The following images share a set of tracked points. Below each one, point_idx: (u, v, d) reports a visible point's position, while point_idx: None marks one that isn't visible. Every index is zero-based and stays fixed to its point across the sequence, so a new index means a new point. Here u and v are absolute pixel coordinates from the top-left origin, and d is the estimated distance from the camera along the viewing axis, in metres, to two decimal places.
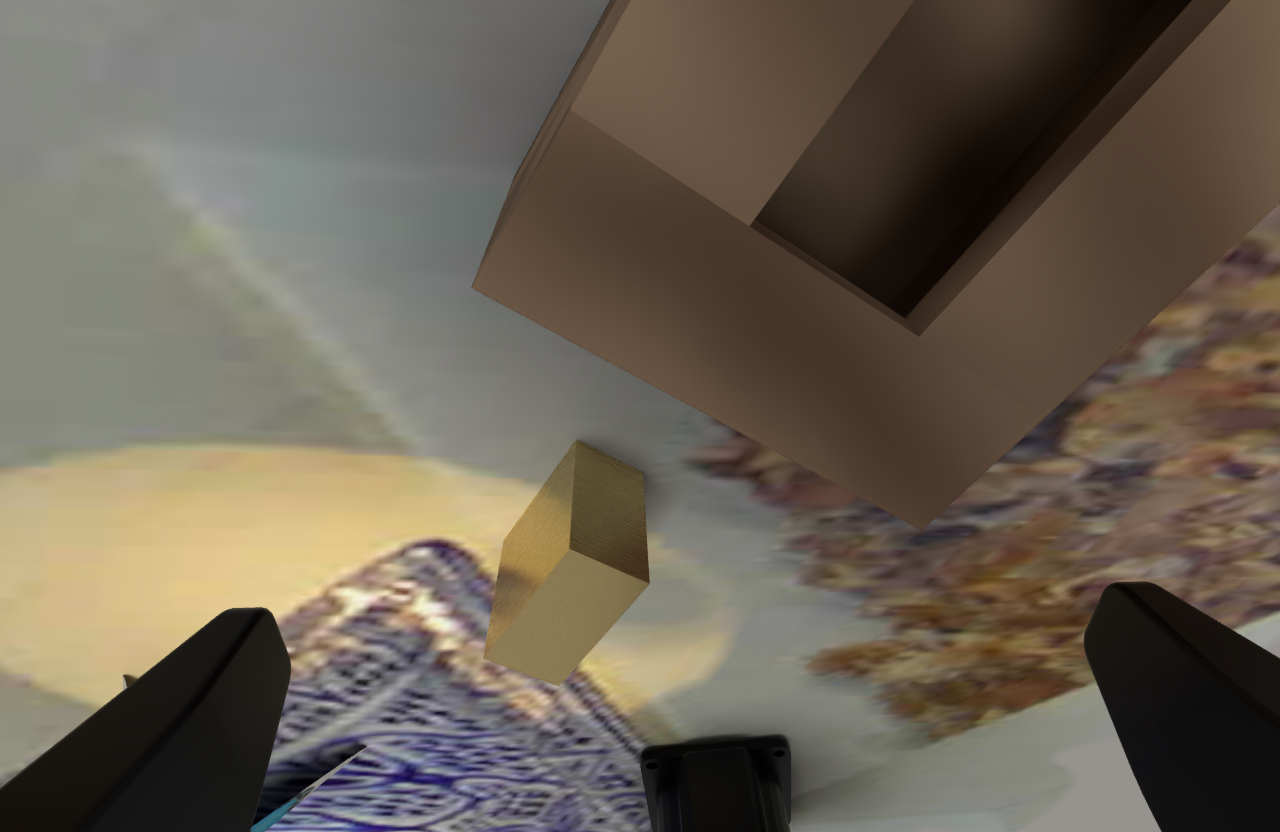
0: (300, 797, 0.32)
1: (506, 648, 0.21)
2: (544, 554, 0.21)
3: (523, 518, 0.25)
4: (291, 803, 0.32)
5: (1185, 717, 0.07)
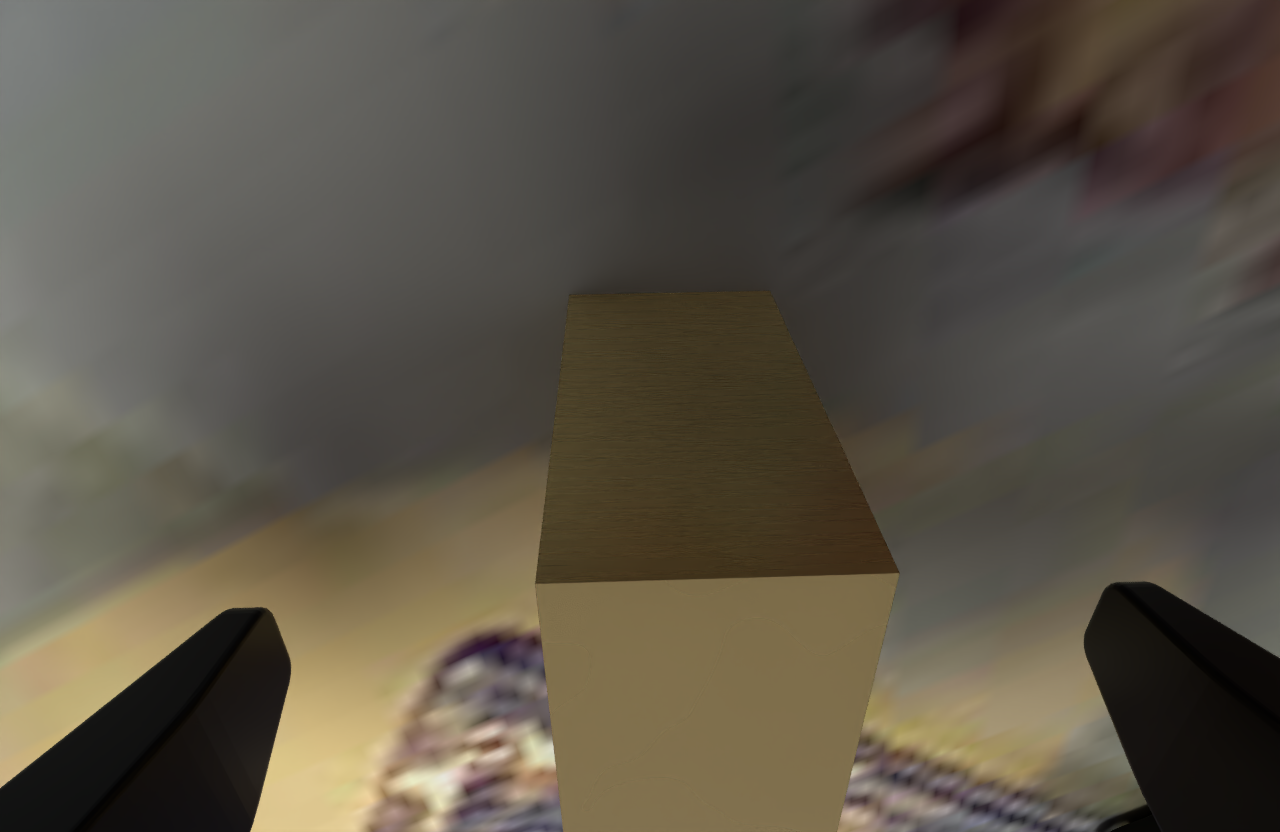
0: None
1: None
2: None
3: None
4: None
5: (1185, 717, 0.07)
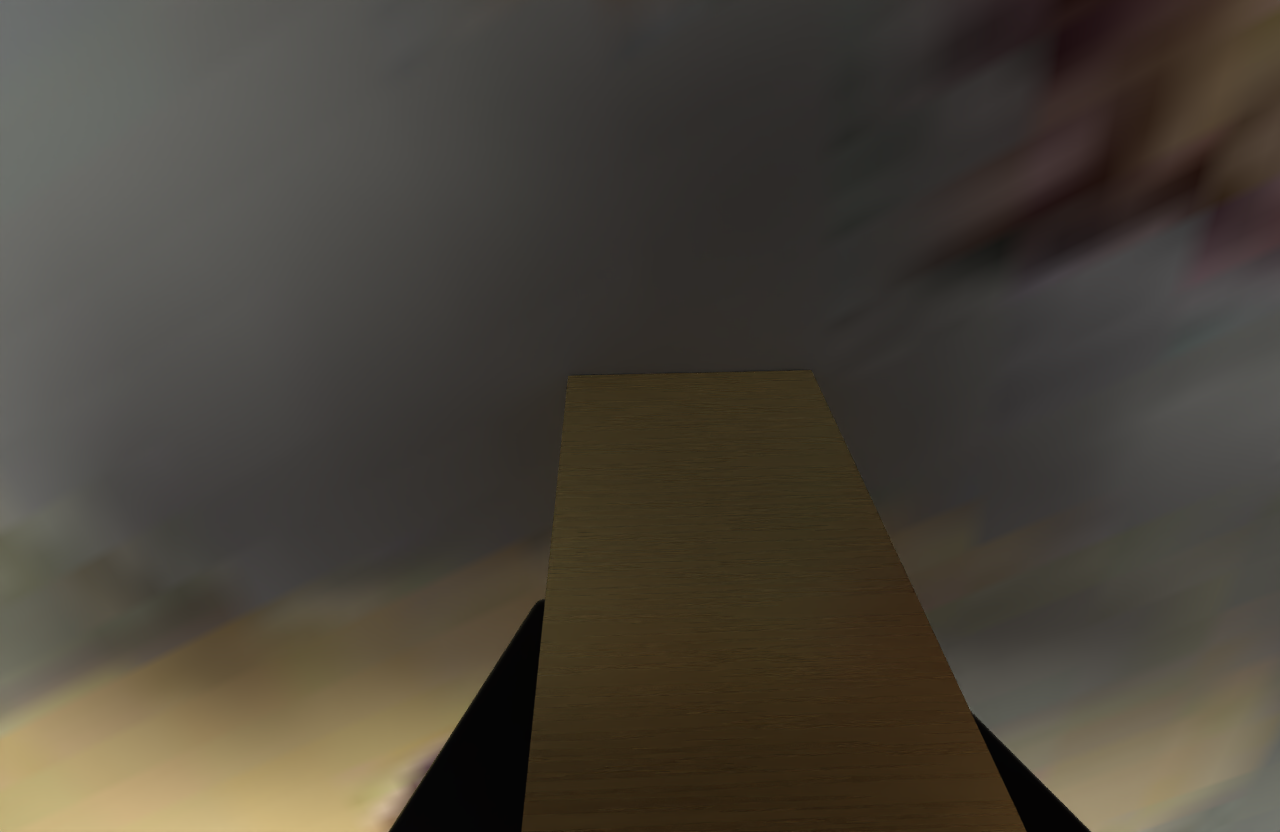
0: None
1: None
2: None
3: None
4: None
5: None
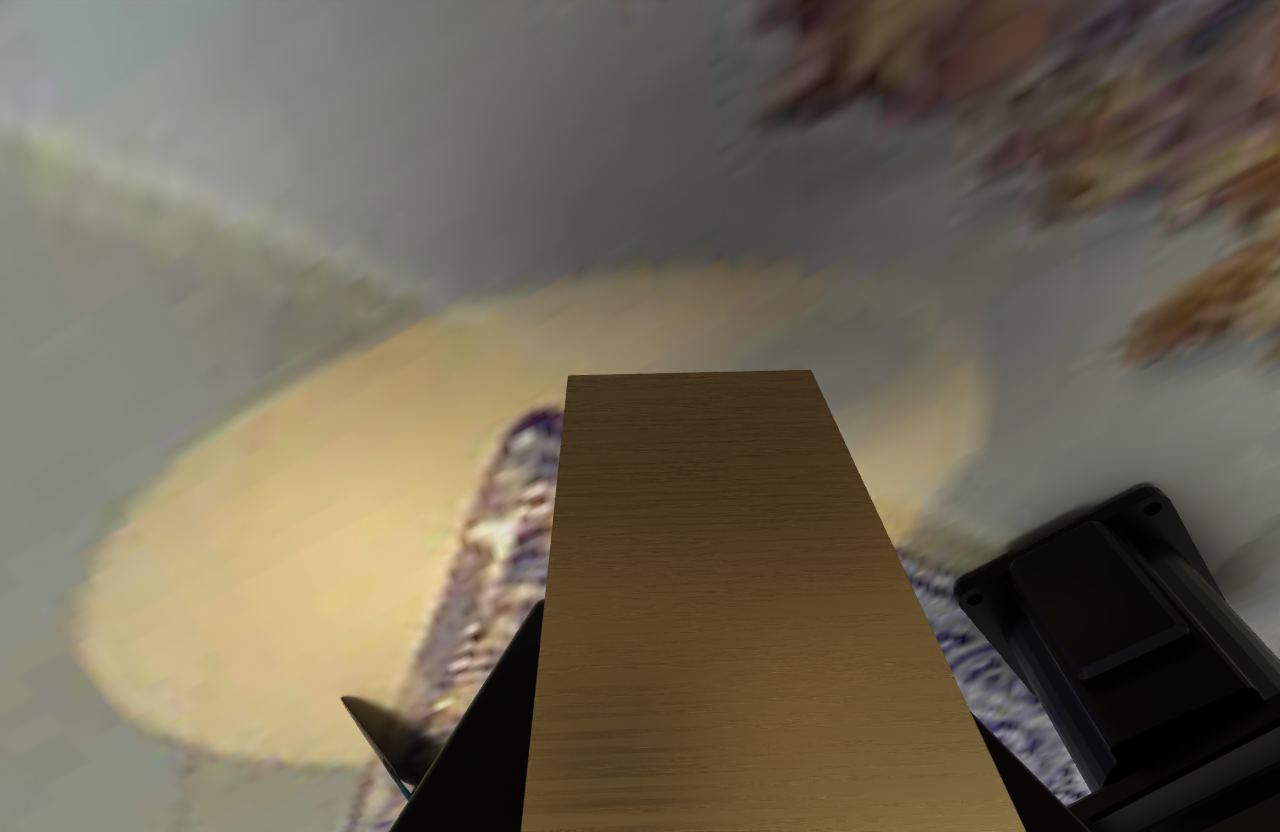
0: None
1: None
2: None
3: None
4: None
5: None
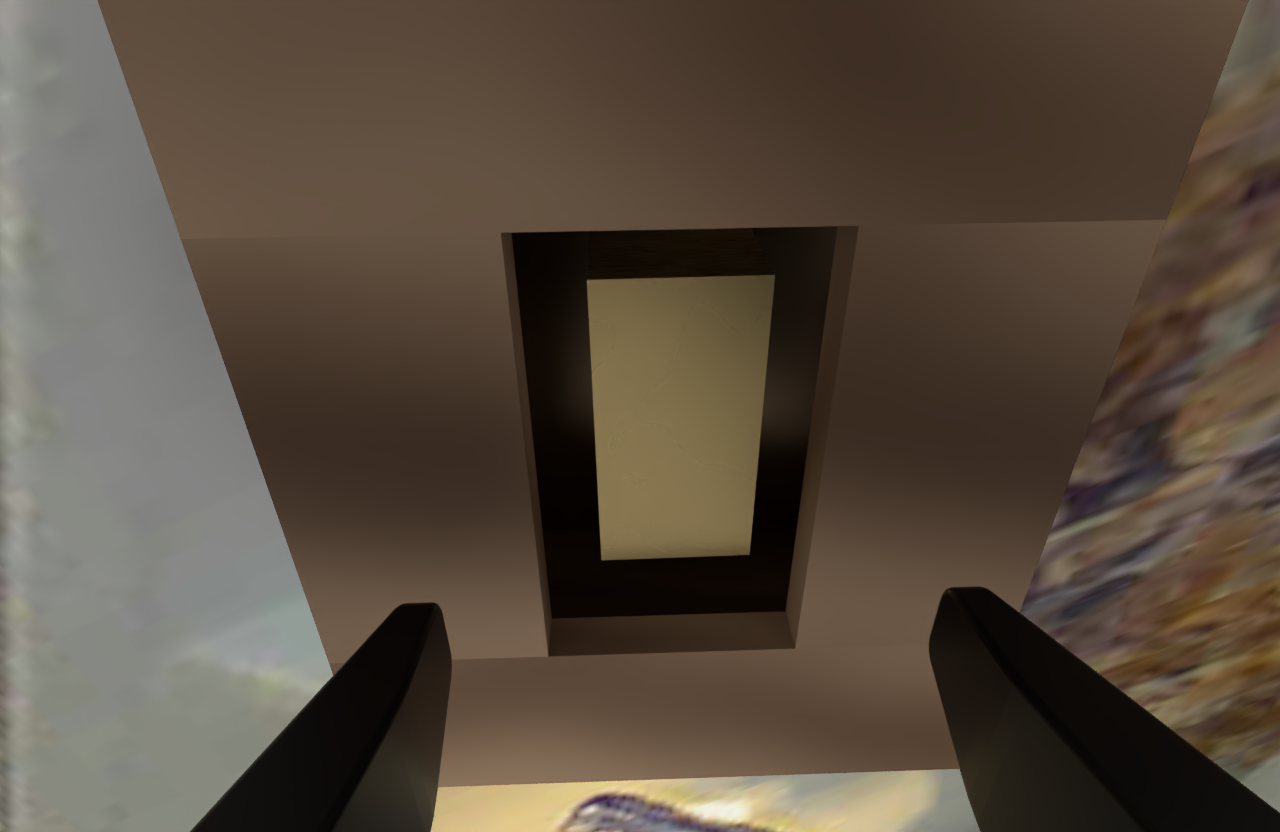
0: None
1: (622, 526, 0.12)
2: None
3: None
4: None
5: (997, 723, 0.07)
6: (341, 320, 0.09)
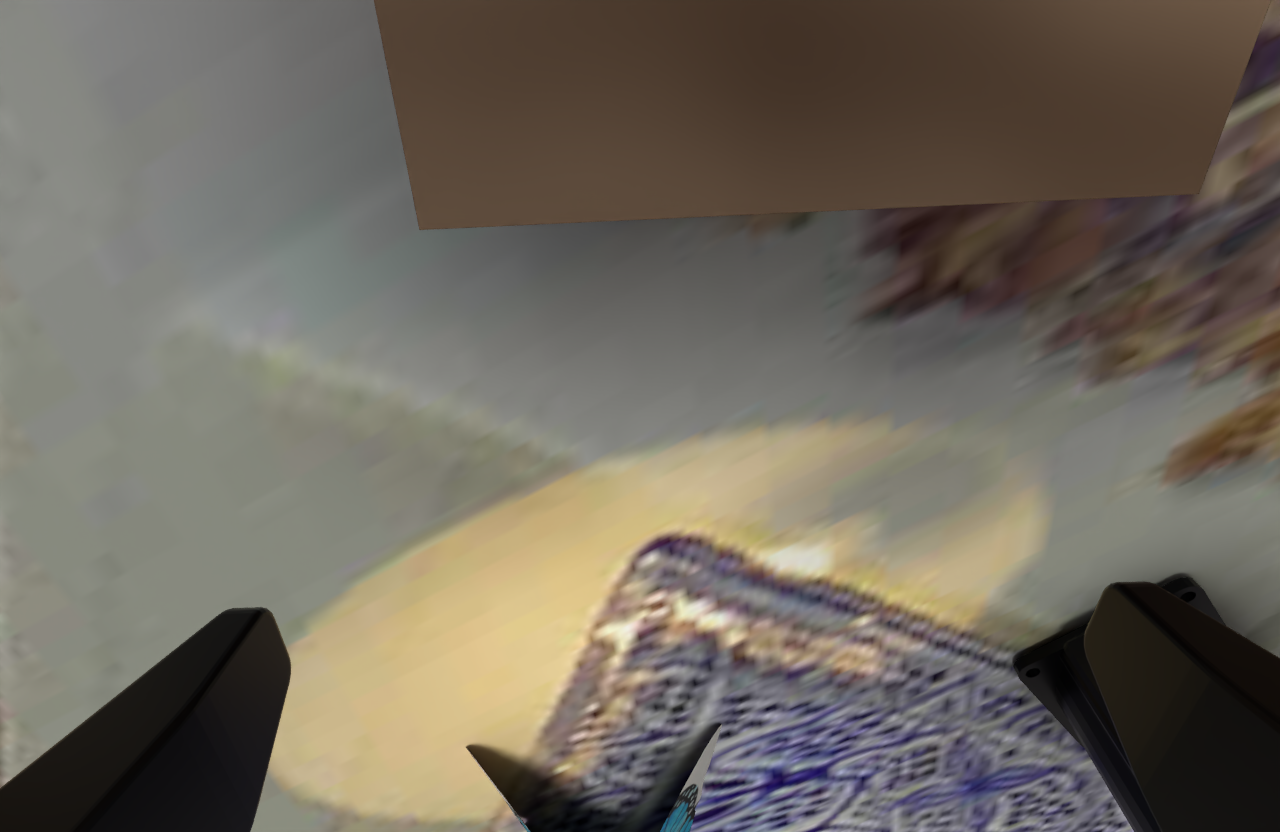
0: (689, 800, 0.29)
1: None
2: None
3: None
4: (683, 809, 0.29)
5: (1185, 717, 0.07)
6: None
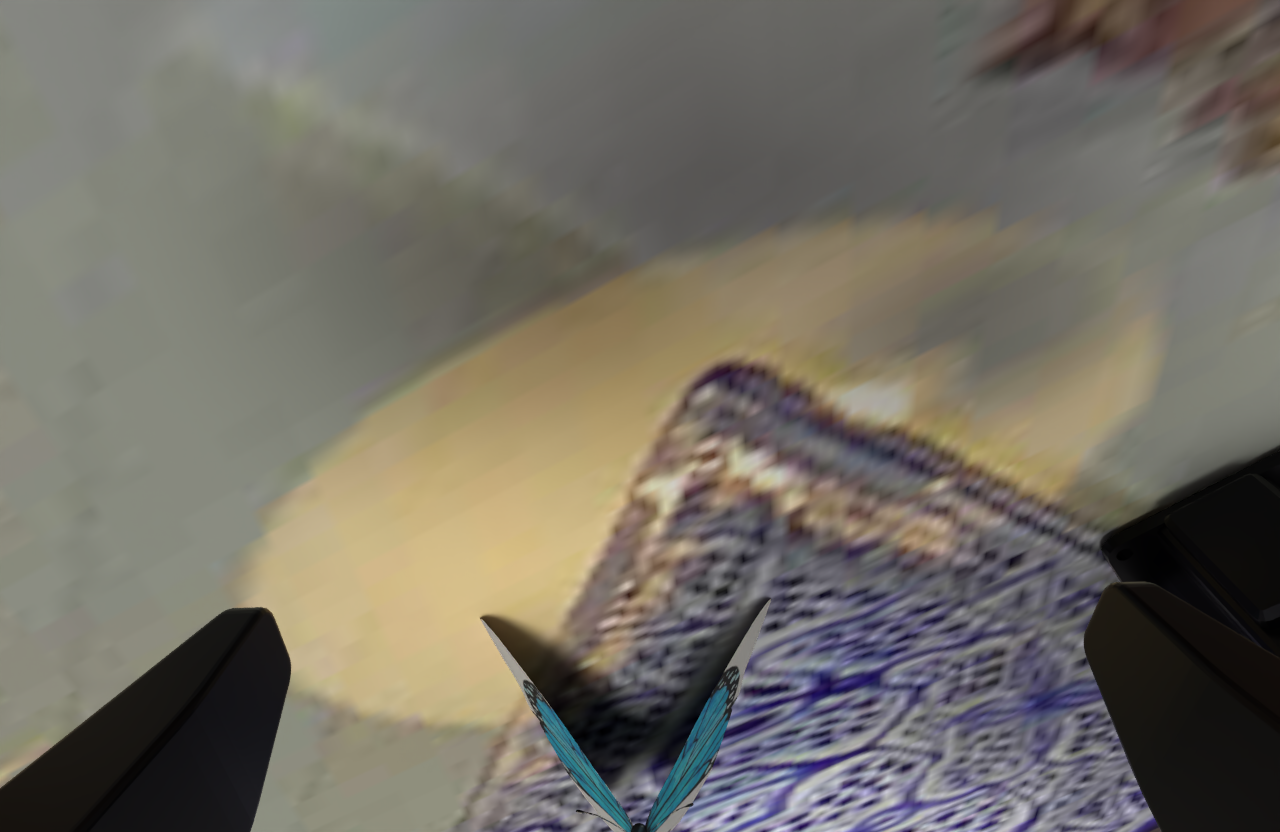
0: (730, 688, 0.26)
1: None
2: None
3: None
4: (723, 696, 0.25)
5: (1185, 717, 0.07)
6: None
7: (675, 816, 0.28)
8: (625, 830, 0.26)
